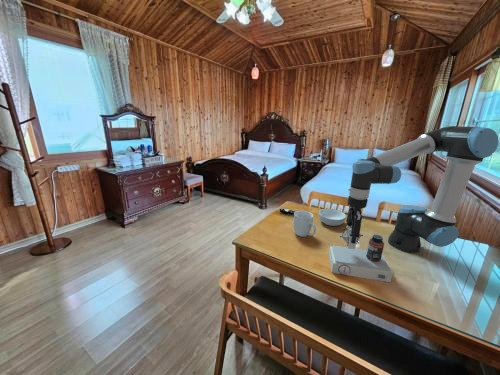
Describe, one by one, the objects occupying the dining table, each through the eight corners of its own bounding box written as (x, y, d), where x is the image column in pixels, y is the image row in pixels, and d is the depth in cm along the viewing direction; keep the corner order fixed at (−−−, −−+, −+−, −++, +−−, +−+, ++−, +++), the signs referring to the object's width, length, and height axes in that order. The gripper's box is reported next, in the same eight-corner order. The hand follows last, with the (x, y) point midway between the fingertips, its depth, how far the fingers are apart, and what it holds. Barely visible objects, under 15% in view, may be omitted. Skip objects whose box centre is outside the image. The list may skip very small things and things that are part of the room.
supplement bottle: (375, 254, 103) (380, 233, 100) (383, 262, 97) (388, 240, 94) (363, 254, 103) (367, 233, 99) (370, 262, 97) (375, 240, 94)
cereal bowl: (314, 217, 154) (316, 208, 152) (338, 217, 154) (339, 208, 152) (322, 229, 138) (323, 219, 136) (348, 229, 138) (350, 219, 136)
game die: (352, 252, 100) (366, 244, 92) (335, 244, 101) (347, 235, 93) (354, 236, 106) (367, 227, 98) (337, 228, 106) (349, 219, 98)
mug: (320, 238, 127) (323, 217, 123) (307, 244, 121) (310, 222, 117) (300, 228, 139) (302, 209, 135) (288, 232, 133) (290, 213, 129)
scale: (380, 262, 107) (382, 251, 105) (391, 283, 93) (394, 271, 91) (328, 254, 112) (330, 244, 110) (331, 273, 98) (333, 262, 97)
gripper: (344, 188, 104) (337, 231, 111) (353, 204, 85) (344, 255, 92) (361, 190, 102) (353, 233, 109) (375, 206, 83) (363, 258, 90)
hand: (349, 243), depth 100 cm, fingers closed on game die, 8 cm apart
